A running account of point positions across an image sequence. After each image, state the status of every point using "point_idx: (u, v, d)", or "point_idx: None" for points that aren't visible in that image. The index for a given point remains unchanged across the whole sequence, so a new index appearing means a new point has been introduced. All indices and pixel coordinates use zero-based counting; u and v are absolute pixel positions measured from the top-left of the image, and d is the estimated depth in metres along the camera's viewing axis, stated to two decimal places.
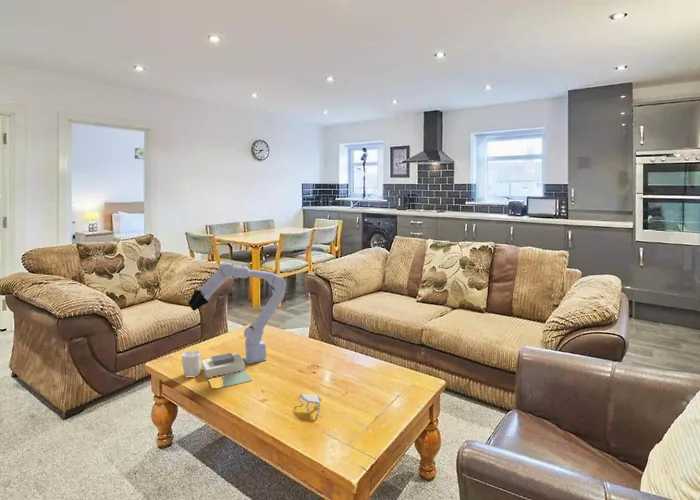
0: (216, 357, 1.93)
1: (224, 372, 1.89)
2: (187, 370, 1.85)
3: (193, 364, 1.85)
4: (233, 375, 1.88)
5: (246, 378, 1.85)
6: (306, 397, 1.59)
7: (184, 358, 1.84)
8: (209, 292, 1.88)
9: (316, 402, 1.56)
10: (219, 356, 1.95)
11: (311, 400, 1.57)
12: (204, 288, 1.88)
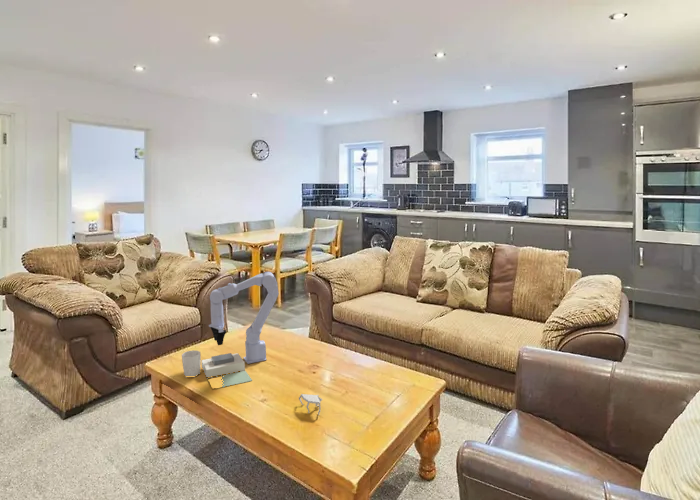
0: (216, 357, 1.93)
1: (224, 372, 1.89)
2: (187, 370, 1.85)
3: (193, 364, 1.85)
4: (233, 375, 1.88)
5: (246, 378, 1.85)
6: (306, 397, 1.59)
7: (184, 358, 1.84)
8: (220, 323, 1.96)
9: (317, 402, 1.56)
10: (219, 356, 1.95)
11: (312, 400, 1.57)
12: (214, 324, 1.96)
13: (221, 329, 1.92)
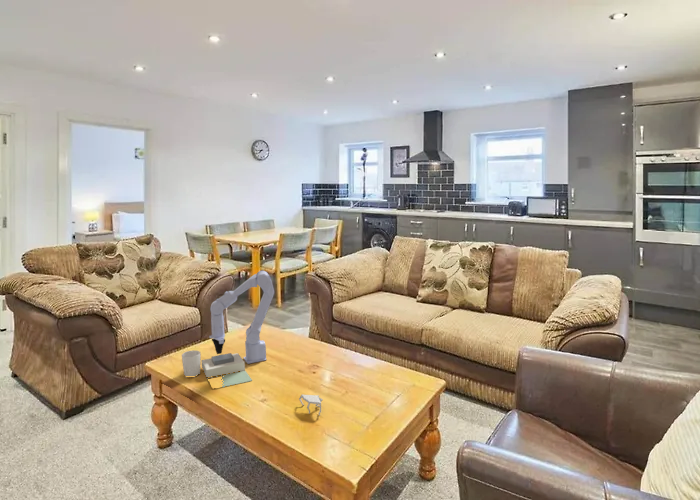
0: (216, 357, 1.93)
1: (224, 372, 1.89)
2: (187, 370, 1.85)
3: (193, 364, 1.85)
4: (233, 375, 1.88)
5: (246, 378, 1.85)
6: (307, 398, 1.59)
7: (184, 358, 1.84)
8: (220, 334, 1.97)
9: (317, 403, 1.56)
10: (219, 356, 1.95)
11: (312, 401, 1.57)
12: (214, 335, 1.97)
13: (222, 340, 1.93)
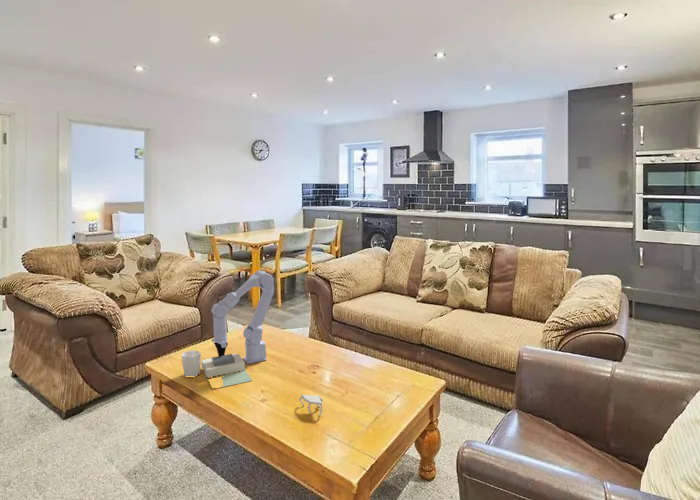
0: (216, 358, 1.92)
1: (224, 372, 1.89)
2: (187, 370, 1.85)
3: (193, 364, 1.85)
4: (233, 375, 1.88)
5: (246, 378, 1.85)
6: (308, 398, 1.59)
7: (184, 358, 1.84)
8: (223, 338, 1.93)
9: (318, 403, 1.56)
10: (220, 356, 1.94)
11: (313, 401, 1.57)
12: (217, 338, 1.92)
13: (224, 344, 1.89)
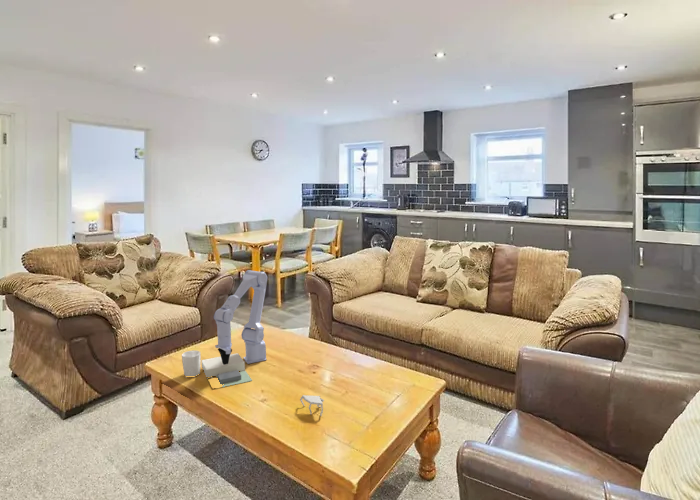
0: None
1: (224, 372, 1.89)
2: (187, 370, 1.85)
3: (193, 364, 1.85)
4: None
5: (246, 378, 1.85)
6: (308, 398, 1.58)
7: (184, 358, 1.84)
8: (227, 344, 1.85)
9: (319, 403, 1.56)
10: None
11: (314, 401, 1.56)
12: (221, 344, 1.85)
13: (228, 350, 1.81)
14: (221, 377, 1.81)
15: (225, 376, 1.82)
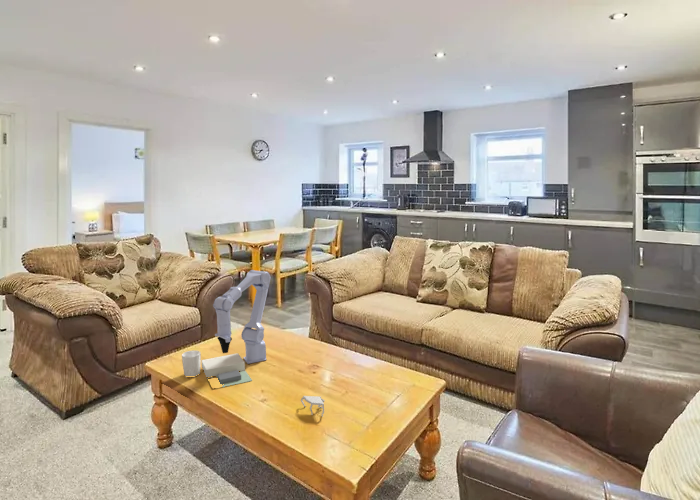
0: None
1: (224, 372, 1.89)
2: (187, 370, 1.85)
3: (193, 364, 1.85)
4: None
5: (246, 378, 1.85)
6: (309, 399, 1.58)
7: (184, 358, 1.84)
8: (227, 332, 1.84)
9: (320, 404, 1.55)
10: None
11: (315, 402, 1.56)
12: (220, 333, 1.84)
13: (228, 339, 1.80)
14: (221, 377, 1.81)
15: (225, 376, 1.82)
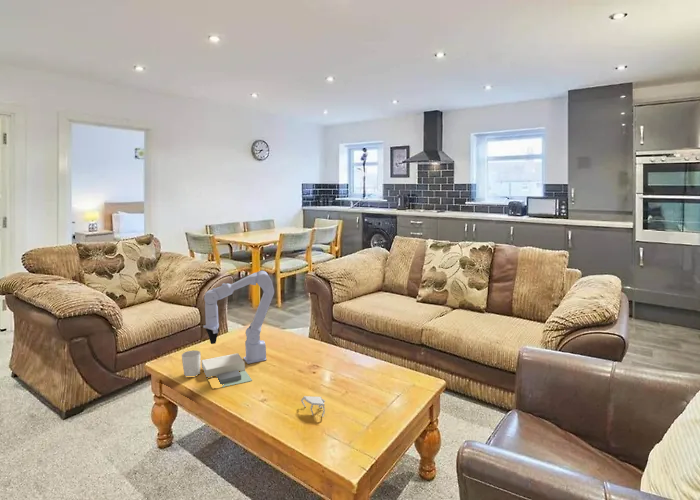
0: None
1: (224, 372, 1.89)
2: (187, 370, 1.85)
3: (193, 364, 1.85)
4: None
5: (246, 378, 1.85)
6: (310, 399, 1.58)
7: (184, 358, 1.84)
8: (214, 324, 1.95)
9: (320, 404, 1.55)
10: None
11: (315, 402, 1.56)
12: (208, 324, 1.94)
13: (215, 330, 1.91)
14: (221, 377, 1.81)
15: (225, 376, 1.82)
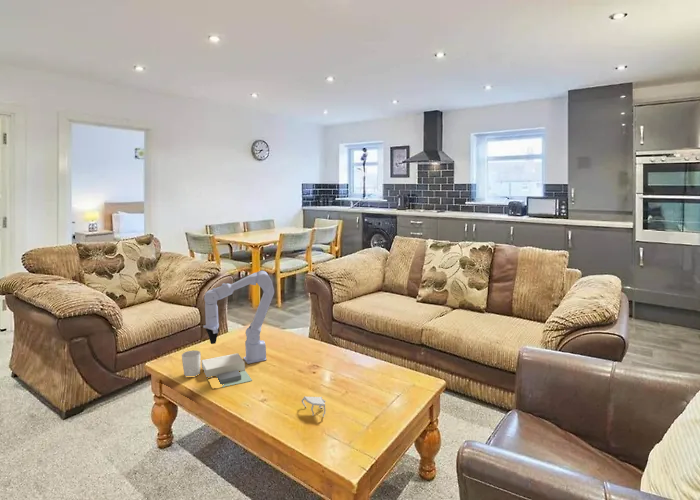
0: None
1: (224, 372, 1.89)
2: (187, 370, 1.85)
3: (193, 364, 1.85)
4: None
5: (246, 378, 1.85)
6: (310, 400, 1.58)
7: (184, 358, 1.84)
8: (214, 324, 1.95)
9: (321, 404, 1.55)
10: None
11: (316, 402, 1.56)
12: (208, 324, 1.94)
13: (215, 330, 1.91)
14: (221, 377, 1.81)
15: (225, 376, 1.82)
